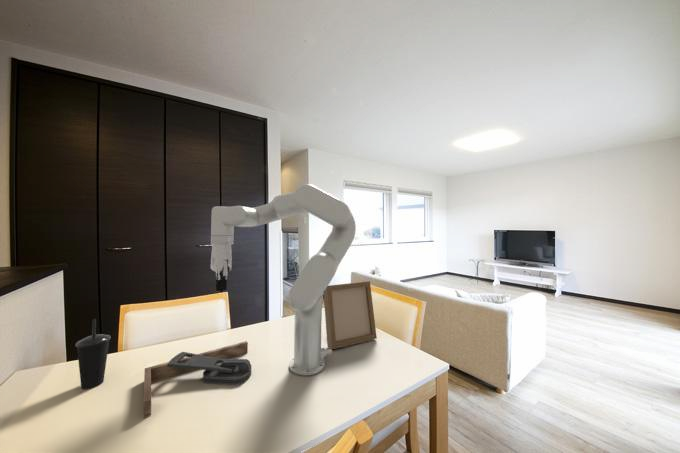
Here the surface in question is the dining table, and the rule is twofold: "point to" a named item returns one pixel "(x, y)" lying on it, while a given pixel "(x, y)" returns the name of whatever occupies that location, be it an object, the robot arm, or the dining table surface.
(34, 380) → the dining table surface
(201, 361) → the zipper pull
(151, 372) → the wooden l-shaped bracket
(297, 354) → the robot arm
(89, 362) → the drinking cup
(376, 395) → the dining table surface
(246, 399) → the dining table surface
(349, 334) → the photo frame
